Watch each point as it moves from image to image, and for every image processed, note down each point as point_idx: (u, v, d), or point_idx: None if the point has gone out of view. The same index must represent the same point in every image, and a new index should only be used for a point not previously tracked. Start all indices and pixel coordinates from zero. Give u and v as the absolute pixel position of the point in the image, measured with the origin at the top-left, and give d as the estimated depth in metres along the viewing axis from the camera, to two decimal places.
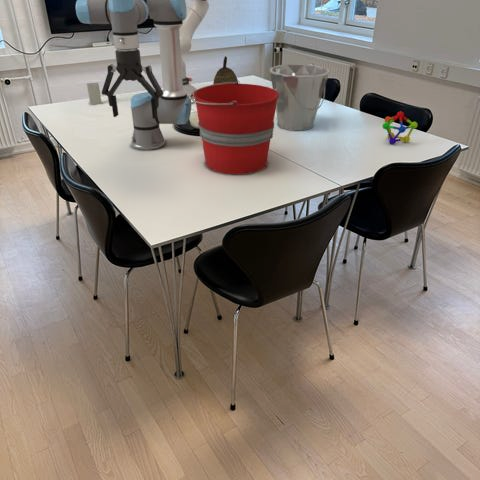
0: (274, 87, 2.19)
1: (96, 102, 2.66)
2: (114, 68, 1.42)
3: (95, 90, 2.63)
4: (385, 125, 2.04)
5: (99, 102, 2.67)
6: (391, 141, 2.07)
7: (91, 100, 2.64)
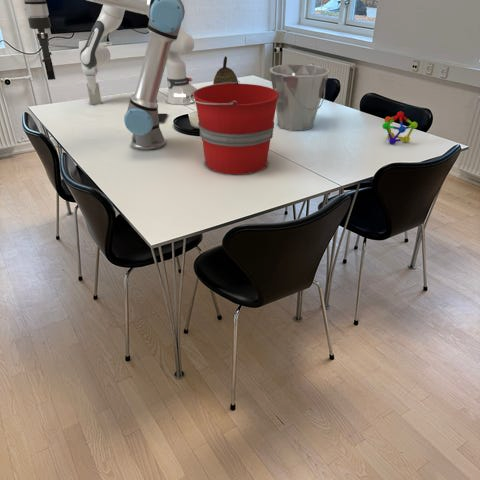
0: (274, 87, 2.19)
1: (96, 102, 2.66)
2: None
3: (95, 90, 2.63)
4: (385, 125, 2.04)
5: (99, 102, 2.67)
6: (391, 141, 2.07)
7: (91, 100, 2.64)
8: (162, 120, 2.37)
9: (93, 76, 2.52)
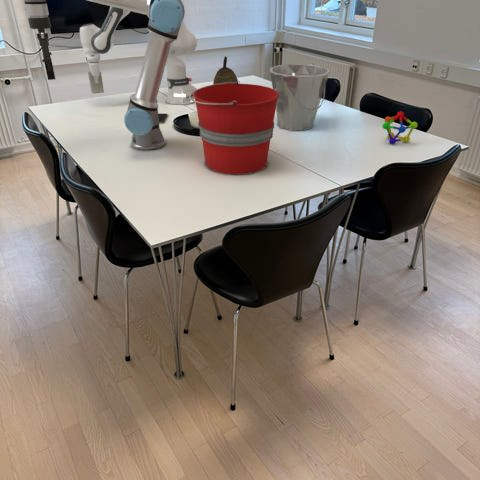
0: (274, 87, 2.19)
1: (98, 91, 2.55)
2: None
3: None
4: (385, 125, 2.04)
5: (101, 91, 2.56)
6: (391, 141, 2.07)
7: (93, 89, 2.53)
8: (162, 120, 2.37)
9: (97, 63, 2.42)
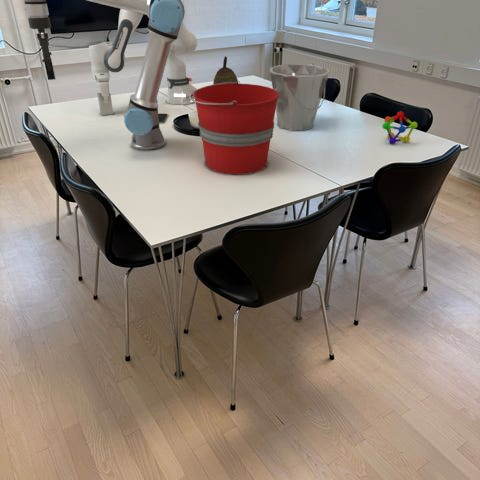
0: (274, 87, 2.19)
1: (107, 113, 2.47)
2: None
3: None
4: (385, 125, 2.04)
5: (111, 113, 2.48)
6: (391, 141, 2.07)
7: (102, 111, 2.45)
8: (162, 120, 2.37)
9: (106, 82, 2.33)
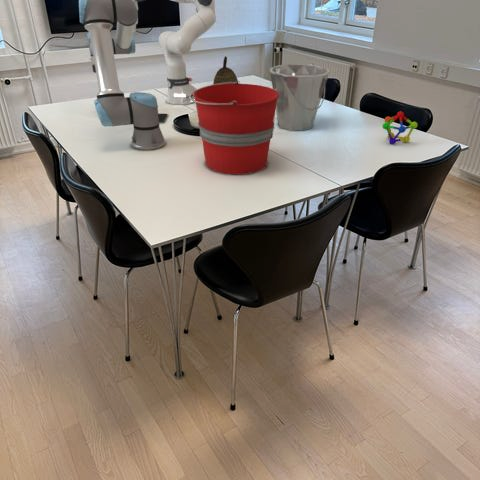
0: (274, 87, 2.19)
1: None
2: None
3: None
4: (385, 125, 2.04)
5: None
6: (391, 141, 2.07)
7: None
8: (162, 120, 2.37)
9: None
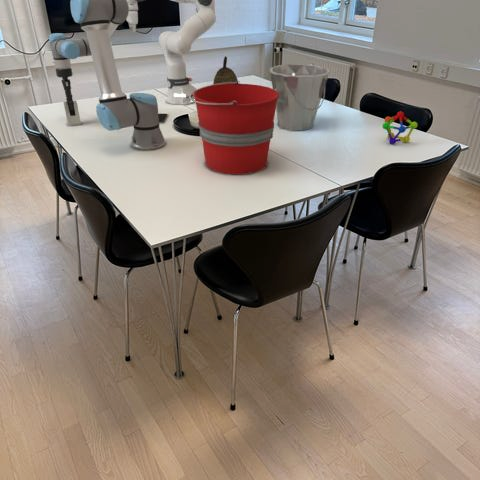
0: (274, 87, 2.19)
1: (74, 123, 2.31)
2: None
3: None
4: (385, 125, 2.04)
5: (78, 123, 2.32)
6: (391, 141, 2.07)
7: (69, 121, 2.29)
8: (162, 120, 2.37)
9: (136, 11, 2.66)
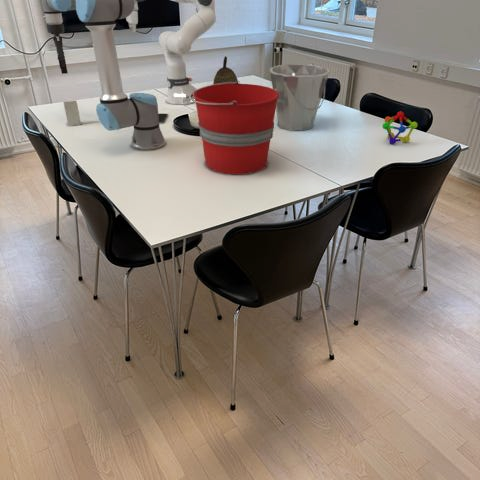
0: (274, 87, 2.19)
1: (74, 123, 2.31)
2: None
3: (73, 110, 2.28)
4: (385, 125, 2.04)
5: (78, 123, 2.32)
6: (391, 141, 2.07)
7: (69, 121, 2.29)
8: (162, 120, 2.37)
9: (136, 11, 2.66)
